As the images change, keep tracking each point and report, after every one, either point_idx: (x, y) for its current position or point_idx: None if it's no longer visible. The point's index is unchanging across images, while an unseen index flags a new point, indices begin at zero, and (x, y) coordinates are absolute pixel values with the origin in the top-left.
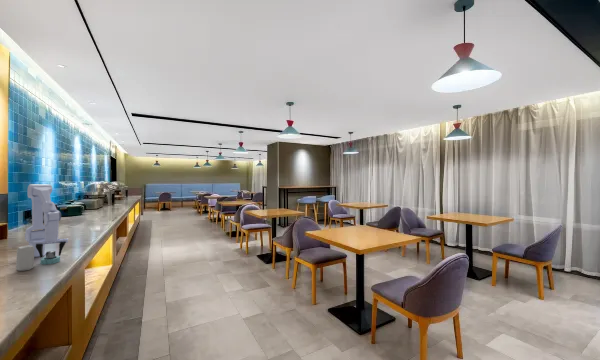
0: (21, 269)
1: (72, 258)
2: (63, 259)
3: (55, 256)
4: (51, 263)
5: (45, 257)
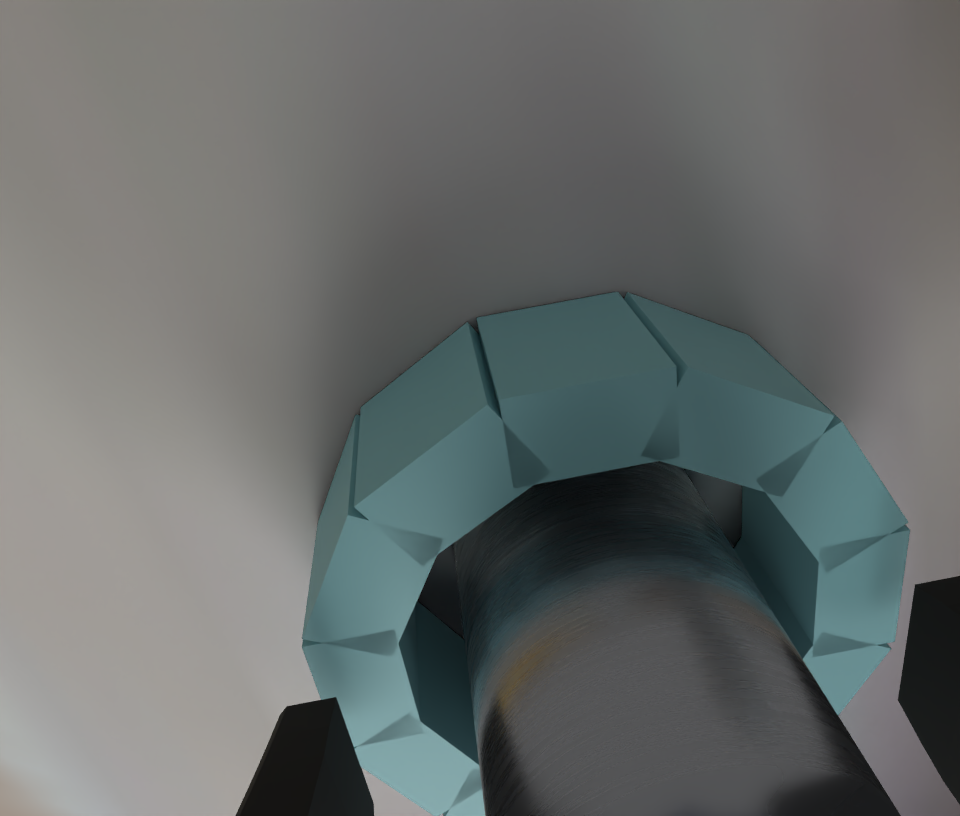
0: None
1: (74, 756)
2: None
3: None
4: (486, 320)
5: None
